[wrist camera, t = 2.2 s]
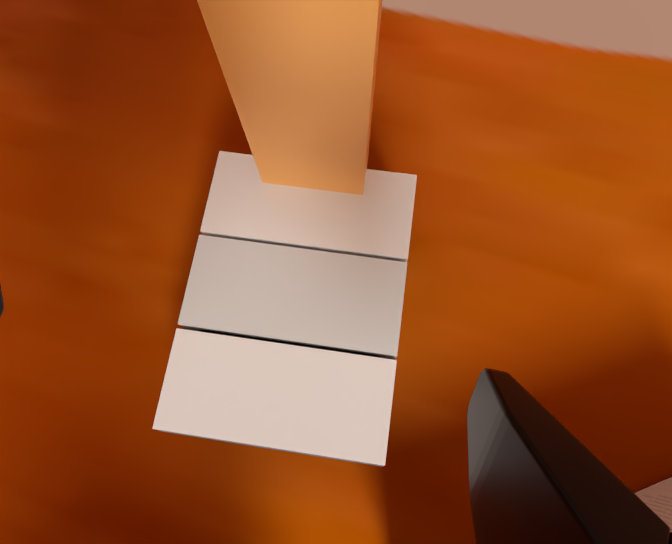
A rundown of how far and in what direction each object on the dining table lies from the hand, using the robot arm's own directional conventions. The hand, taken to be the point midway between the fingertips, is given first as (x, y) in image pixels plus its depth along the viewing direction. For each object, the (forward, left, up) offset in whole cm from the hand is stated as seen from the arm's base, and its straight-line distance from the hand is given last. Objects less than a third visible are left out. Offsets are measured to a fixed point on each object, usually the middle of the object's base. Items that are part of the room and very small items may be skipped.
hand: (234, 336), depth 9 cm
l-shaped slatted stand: (+2, +2, -9) cm, 9 cm away
